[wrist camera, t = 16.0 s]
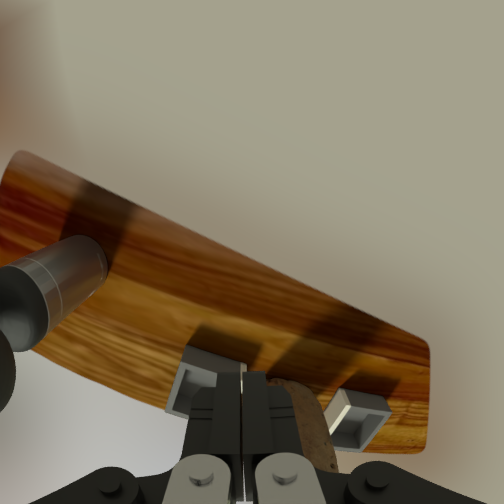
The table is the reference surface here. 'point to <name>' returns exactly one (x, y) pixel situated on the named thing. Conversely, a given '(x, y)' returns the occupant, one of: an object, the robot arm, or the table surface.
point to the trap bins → (205, 375)
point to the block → (310, 425)
